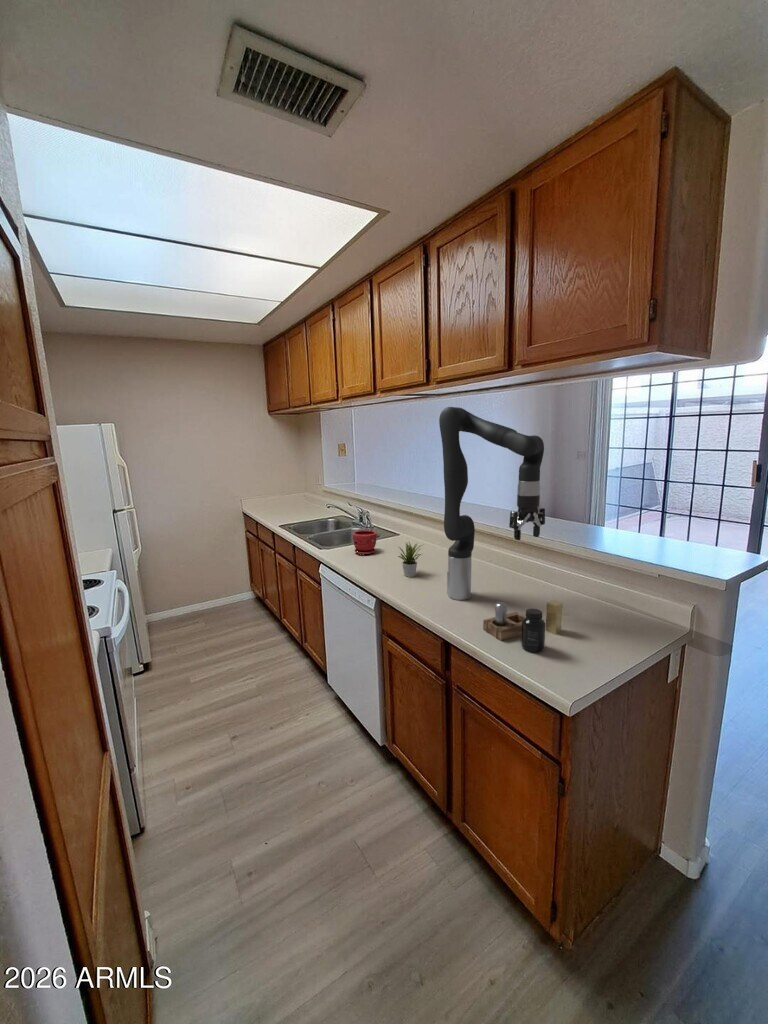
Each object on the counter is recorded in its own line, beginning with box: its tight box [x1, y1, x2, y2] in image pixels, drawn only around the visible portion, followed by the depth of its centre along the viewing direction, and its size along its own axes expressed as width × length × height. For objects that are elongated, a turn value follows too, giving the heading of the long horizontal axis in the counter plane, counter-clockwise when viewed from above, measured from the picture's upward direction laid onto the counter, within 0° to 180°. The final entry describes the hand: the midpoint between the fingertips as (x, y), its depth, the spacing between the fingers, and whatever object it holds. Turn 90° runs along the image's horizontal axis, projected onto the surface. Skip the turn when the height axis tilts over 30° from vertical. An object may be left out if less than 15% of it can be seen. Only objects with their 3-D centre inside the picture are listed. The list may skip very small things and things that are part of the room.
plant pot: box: [352, 530, 378, 555], centre depth 238 cm, size 13×13×12 cm
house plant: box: [396, 541, 425, 578], centre depth 199 cm, size 14×14×16 cm
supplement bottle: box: [520, 608, 546, 653], centre depth 131 cm, size 7×7×12 cm
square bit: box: [545, 599, 564, 635], centre depth 142 cm, size 4×4×10 cm
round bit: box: [494, 601, 508, 627], centre depth 141 cm, size 4×4×10 cm
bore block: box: [482, 611, 526, 642], centre depth 143 cm, size 9×14×4 cm, turn 115°
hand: (526, 538), depth 153 cm, fingers open, 8 cm apart
